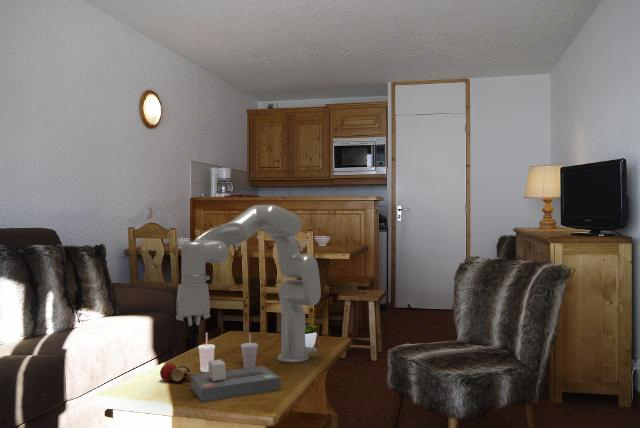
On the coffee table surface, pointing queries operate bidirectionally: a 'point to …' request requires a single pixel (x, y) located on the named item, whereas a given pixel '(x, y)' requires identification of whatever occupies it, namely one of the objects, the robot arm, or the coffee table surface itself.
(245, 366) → the smoothie
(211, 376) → the breaker knob
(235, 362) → the coffee table surface
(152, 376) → the coffee table surface
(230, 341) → the coffee table surface
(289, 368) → the coffee table surface
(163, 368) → the kendama
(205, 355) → the beverage cup
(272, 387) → the switch panel
